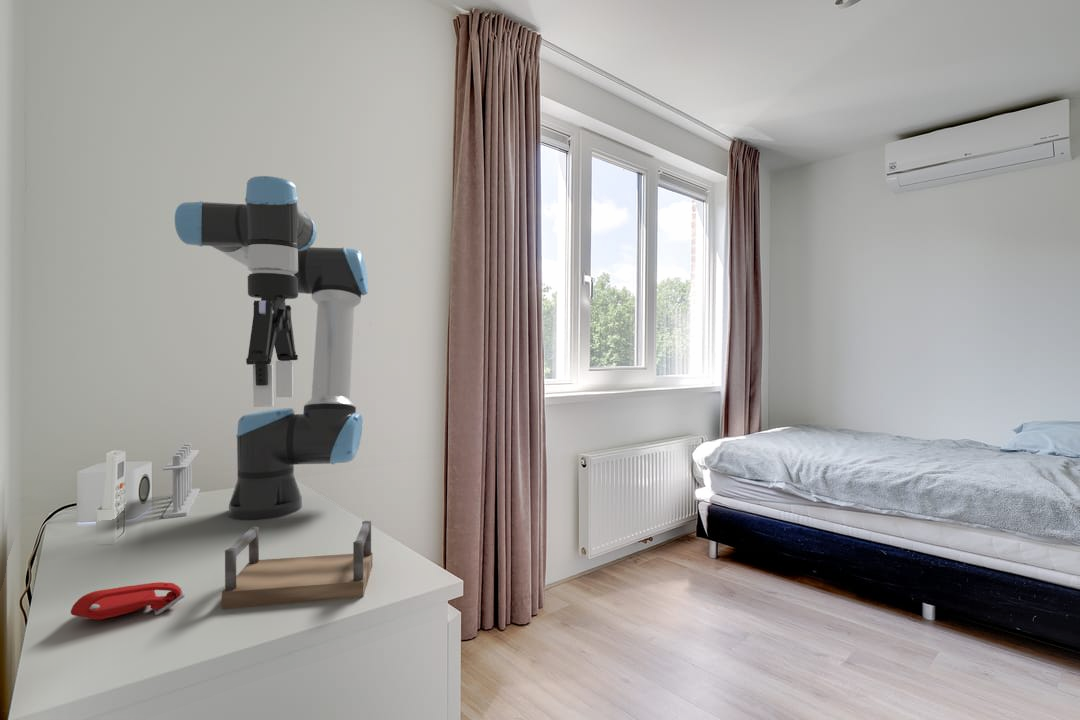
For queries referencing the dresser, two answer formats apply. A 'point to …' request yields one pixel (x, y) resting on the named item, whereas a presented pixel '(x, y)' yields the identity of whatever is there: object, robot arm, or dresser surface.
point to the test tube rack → (181, 482)
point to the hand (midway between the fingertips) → (275, 401)
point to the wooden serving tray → (295, 574)
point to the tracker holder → (126, 600)
